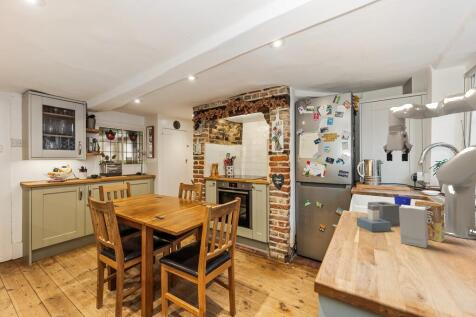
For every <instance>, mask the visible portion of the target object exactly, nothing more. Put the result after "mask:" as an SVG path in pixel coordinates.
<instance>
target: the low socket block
mask: <svg viewBox="0 0 476 317" xmlns="http://www.w3.org/2000/svg"><path fill="white" fill-rule="evenodd" d="M356 226H358V227H360V228H361V229H364V230H366V231H369V232H371V233H374V232H375V233H376V232H377V233H378V232H391V231H392V226H391V222H388V221H386V220H383V219H380V218H379V221H370V220H368V216H364V217H363V216H362V217H361V216H359V217H356Z"/></svg>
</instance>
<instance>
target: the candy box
mask: <svg viewBox="0 0 476 317" xmlns="http://www.w3.org/2000/svg"><path fill="white" fill-rule="evenodd" d="M414 206H420V207H426V210H427V229H428V240H431V241H435V242H438V243H443V242H444V241H445V239H446V238H445V235H446V234H444V227H445V203H442V202H441V203H440V202H435V201H434V202H433V201H432V202H431V201H425V200H419V199H418V200H416V201H414Z"/></svg>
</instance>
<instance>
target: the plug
mask: <svg viewBox="0 0 476 317" xmlns="http://www.w3.org/2000/svg"><path fill="white" fill-rule="evenodd" d="M367 217H368V220H370V221H379V206H377V205H368V204H367Z"/></svg>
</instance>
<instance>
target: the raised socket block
mask: <svg viewBox="0 0 476 317" xmlns="http://www.w3.org/2000/svg"><path fill="white" fill-rule="evenodd" d="M368 205H377V206H379V218H380V219H383V220H386V221H388V222H391V227H392V226H400V217H399V207H400V205H397V204H395V203H392V202H387V201H368V202H367V206H368Z"/></svg>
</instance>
